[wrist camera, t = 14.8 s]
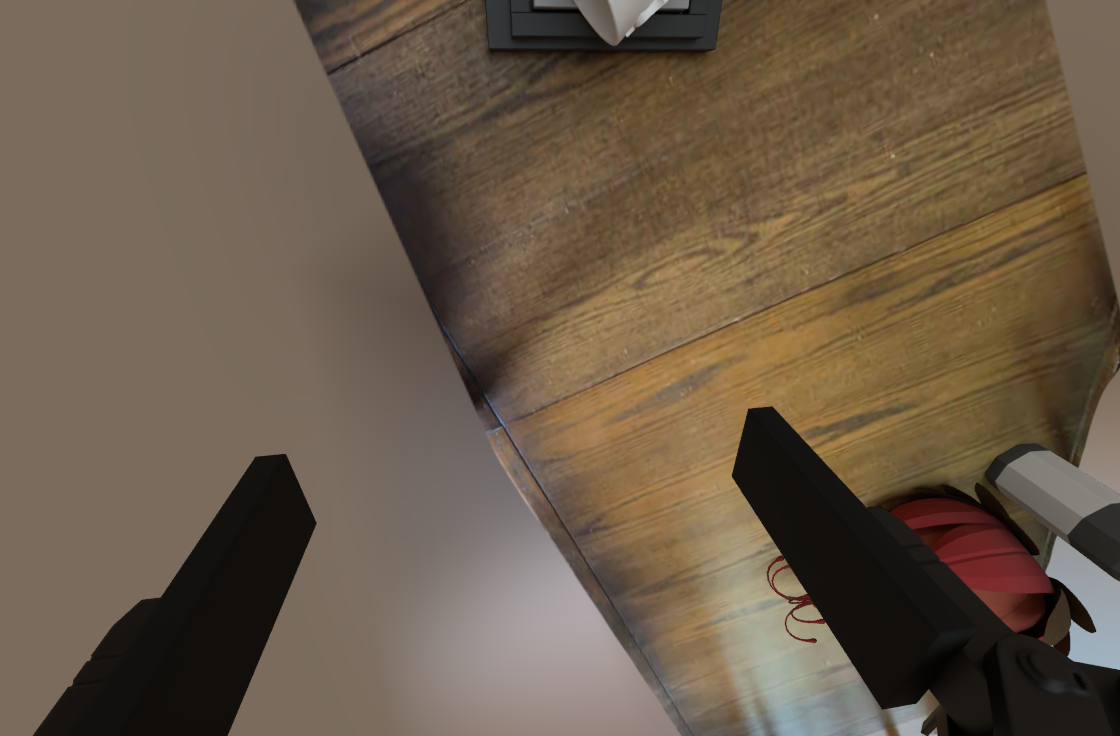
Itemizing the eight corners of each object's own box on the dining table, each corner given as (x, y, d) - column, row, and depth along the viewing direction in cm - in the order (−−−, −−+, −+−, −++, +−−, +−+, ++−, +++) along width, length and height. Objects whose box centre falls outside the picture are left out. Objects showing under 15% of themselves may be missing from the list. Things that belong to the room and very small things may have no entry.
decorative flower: (934, 462, 68) (738, 510, 73) (1085, 516, 45) (785, 581, 50) (980, 599, 68) (780, 638, 73) (1156, 723, 45) (846, 768, 50)
